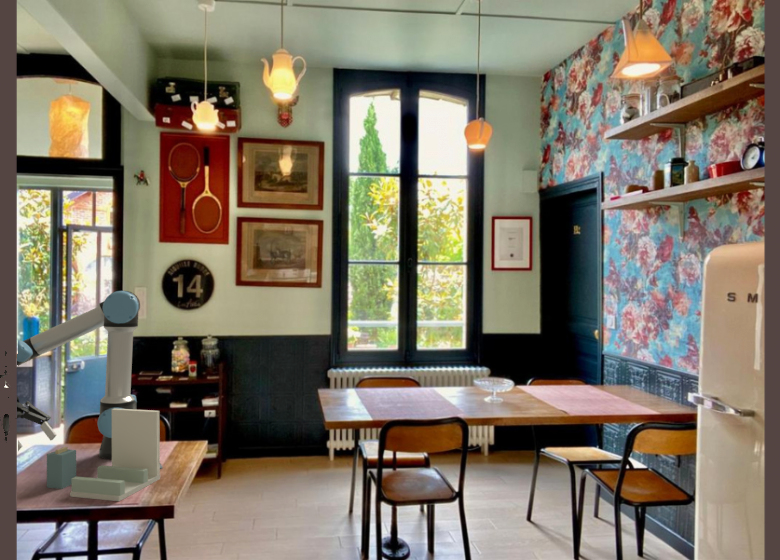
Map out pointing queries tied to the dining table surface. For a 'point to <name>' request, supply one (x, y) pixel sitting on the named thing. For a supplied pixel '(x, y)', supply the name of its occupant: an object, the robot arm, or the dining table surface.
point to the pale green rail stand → (126, 458)
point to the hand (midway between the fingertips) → (37, 443)
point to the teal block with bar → (61, 468)
